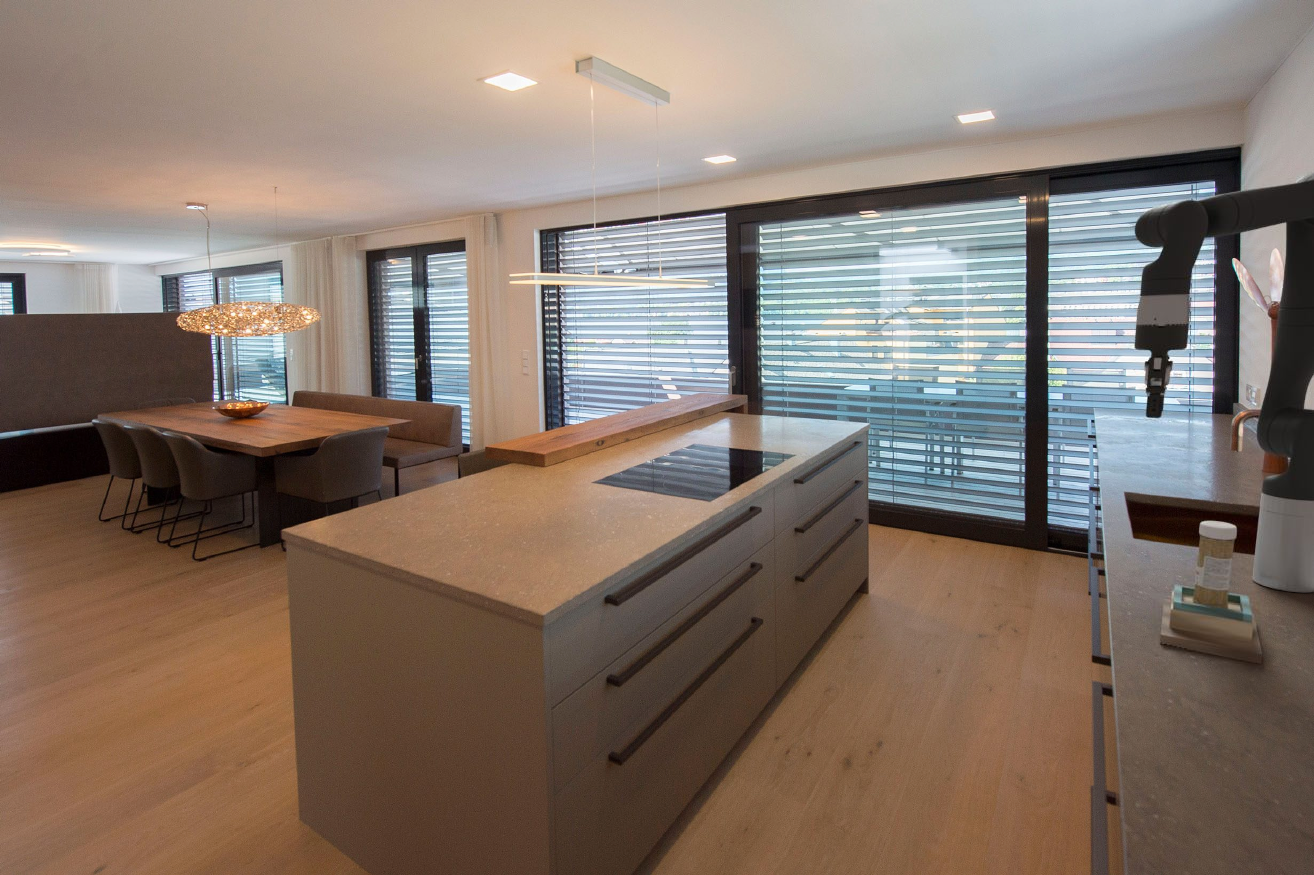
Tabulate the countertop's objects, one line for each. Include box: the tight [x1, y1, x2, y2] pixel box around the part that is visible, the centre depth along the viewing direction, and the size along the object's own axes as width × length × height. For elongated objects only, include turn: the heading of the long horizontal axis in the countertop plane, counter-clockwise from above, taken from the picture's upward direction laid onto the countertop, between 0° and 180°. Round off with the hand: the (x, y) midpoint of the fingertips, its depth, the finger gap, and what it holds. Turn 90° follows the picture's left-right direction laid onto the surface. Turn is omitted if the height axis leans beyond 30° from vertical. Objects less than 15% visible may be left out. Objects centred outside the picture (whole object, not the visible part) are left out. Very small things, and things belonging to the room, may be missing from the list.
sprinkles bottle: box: [1193, 520, 1238, 609], centre depth 111 cm, size 5×5×14 cm
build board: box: [1159, 583, 1263, 665], centre depth 113 cm, size 18×12×6 cm, turn 143°
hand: (1154, 415), depth 125 cm, fingers open, 8 cm apart
